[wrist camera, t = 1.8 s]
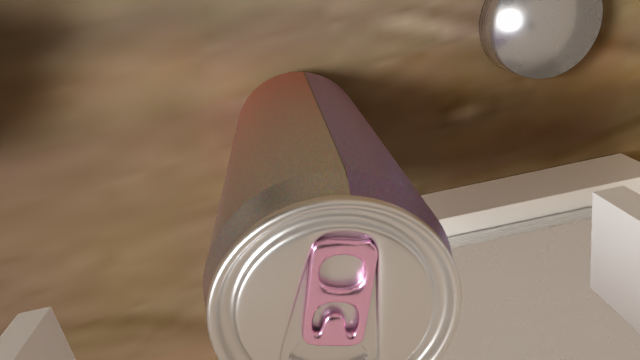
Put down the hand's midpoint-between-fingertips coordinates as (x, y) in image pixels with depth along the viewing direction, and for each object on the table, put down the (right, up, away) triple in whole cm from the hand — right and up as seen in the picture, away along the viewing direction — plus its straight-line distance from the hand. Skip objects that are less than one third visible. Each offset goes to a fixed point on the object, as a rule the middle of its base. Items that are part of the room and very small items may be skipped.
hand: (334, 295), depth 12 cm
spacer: (+10, +11, +12) cm, 19 cm away
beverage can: (-1, +5, +13) cm, 14 cm away
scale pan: (+11, -5, +14) cm, 19 cm away
